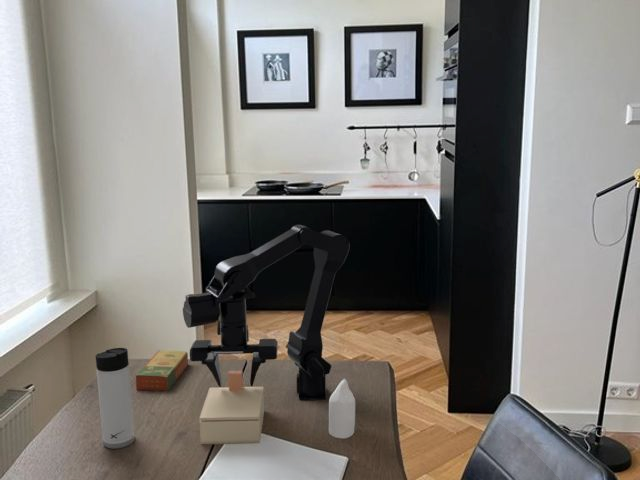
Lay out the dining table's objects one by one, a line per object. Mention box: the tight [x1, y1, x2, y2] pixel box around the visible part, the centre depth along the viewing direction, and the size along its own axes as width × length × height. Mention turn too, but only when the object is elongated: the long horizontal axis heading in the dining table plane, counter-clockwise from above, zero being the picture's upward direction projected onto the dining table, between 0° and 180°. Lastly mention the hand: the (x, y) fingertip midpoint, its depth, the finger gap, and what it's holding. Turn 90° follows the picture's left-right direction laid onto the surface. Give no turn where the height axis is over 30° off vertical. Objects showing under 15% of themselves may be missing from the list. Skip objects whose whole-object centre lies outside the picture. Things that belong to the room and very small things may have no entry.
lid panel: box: [198, 370, 264, 422], centre depth 134 cm, size 12×14×5 cm
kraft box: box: [199, 389, 265, 446], centre depth 135 cm, size 12×14×5 cm
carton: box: [135, 350, 189, 391], centre depth 161 cm, size 8×16×4 cm, turn 174°
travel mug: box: [95, 347, 136, 450], centre depth 128 cm, size 6×7×20 cm
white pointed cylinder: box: [328, 378, 356, 440], centre depth 131 cm, size 6×12×6 cm
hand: (236, 386), depth 140 cm, fingers open, 7 cm apart
